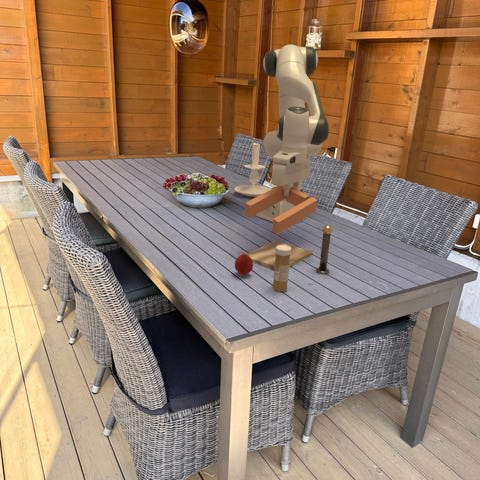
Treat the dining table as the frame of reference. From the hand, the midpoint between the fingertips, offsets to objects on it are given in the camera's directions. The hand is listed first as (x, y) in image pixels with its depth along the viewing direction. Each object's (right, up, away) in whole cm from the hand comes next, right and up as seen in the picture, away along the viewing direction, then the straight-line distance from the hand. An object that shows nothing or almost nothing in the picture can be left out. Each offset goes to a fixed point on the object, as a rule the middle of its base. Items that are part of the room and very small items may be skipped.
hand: (290, 194), depth 163 cm
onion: (-17, -28, -18) cm, 37 cm away
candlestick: (-9, +8, +82) cm, 83 cm away
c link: (-4, -7, -5) cm, 10 cm away
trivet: (-4, -22, -1) cm, 23 cm away
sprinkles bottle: (-6, -31, -26) cm, 41 cm away
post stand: (+9, -27, -12) cm, 31 cm away
